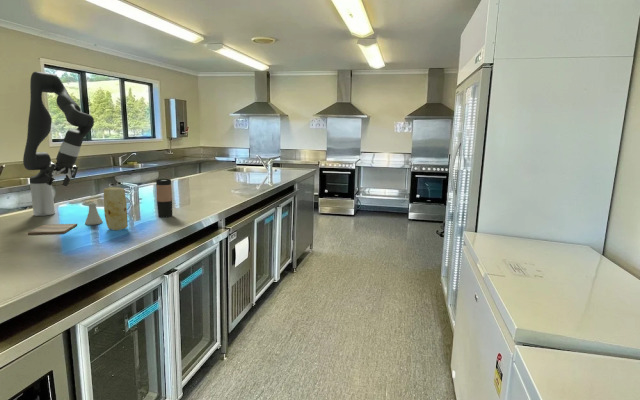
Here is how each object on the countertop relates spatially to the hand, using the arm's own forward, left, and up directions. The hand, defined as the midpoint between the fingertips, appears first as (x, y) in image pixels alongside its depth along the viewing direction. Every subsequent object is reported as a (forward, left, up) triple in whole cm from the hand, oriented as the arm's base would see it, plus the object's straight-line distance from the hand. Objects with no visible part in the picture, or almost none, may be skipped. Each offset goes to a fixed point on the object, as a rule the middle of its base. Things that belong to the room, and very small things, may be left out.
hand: (56, 185), depth 171 cm
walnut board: (+6, 0, -20) cm, 21 cm away
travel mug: (-18, +44, -20) cm, 51 cm away
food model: (+8, +27, -20) cm, 34 cm away
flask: (-5, +13, -20) cm, 24 cm away
